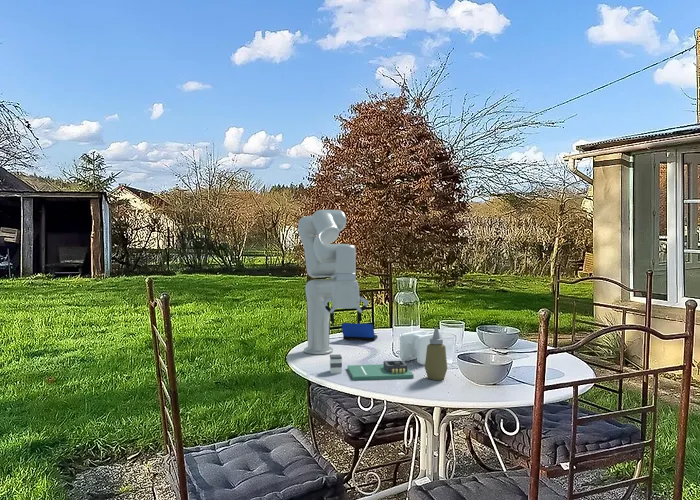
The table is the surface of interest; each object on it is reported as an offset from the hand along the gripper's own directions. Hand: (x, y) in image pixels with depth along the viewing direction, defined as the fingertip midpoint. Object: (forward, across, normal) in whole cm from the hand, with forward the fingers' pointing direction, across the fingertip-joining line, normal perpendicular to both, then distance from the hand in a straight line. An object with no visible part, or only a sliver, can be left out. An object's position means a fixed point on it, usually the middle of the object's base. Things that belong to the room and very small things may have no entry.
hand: (345, 323), depth 202 cm
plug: (+18, -4, 0) cm, 19 cm away
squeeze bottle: (+19, +32, -11) cm, 38 cm away
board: (+18, +12, -3) cm, 22 cm away
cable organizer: (+19, +32, +14) cm, 39 cm away
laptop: (+18, +11, +59) cm, 63 cm away
